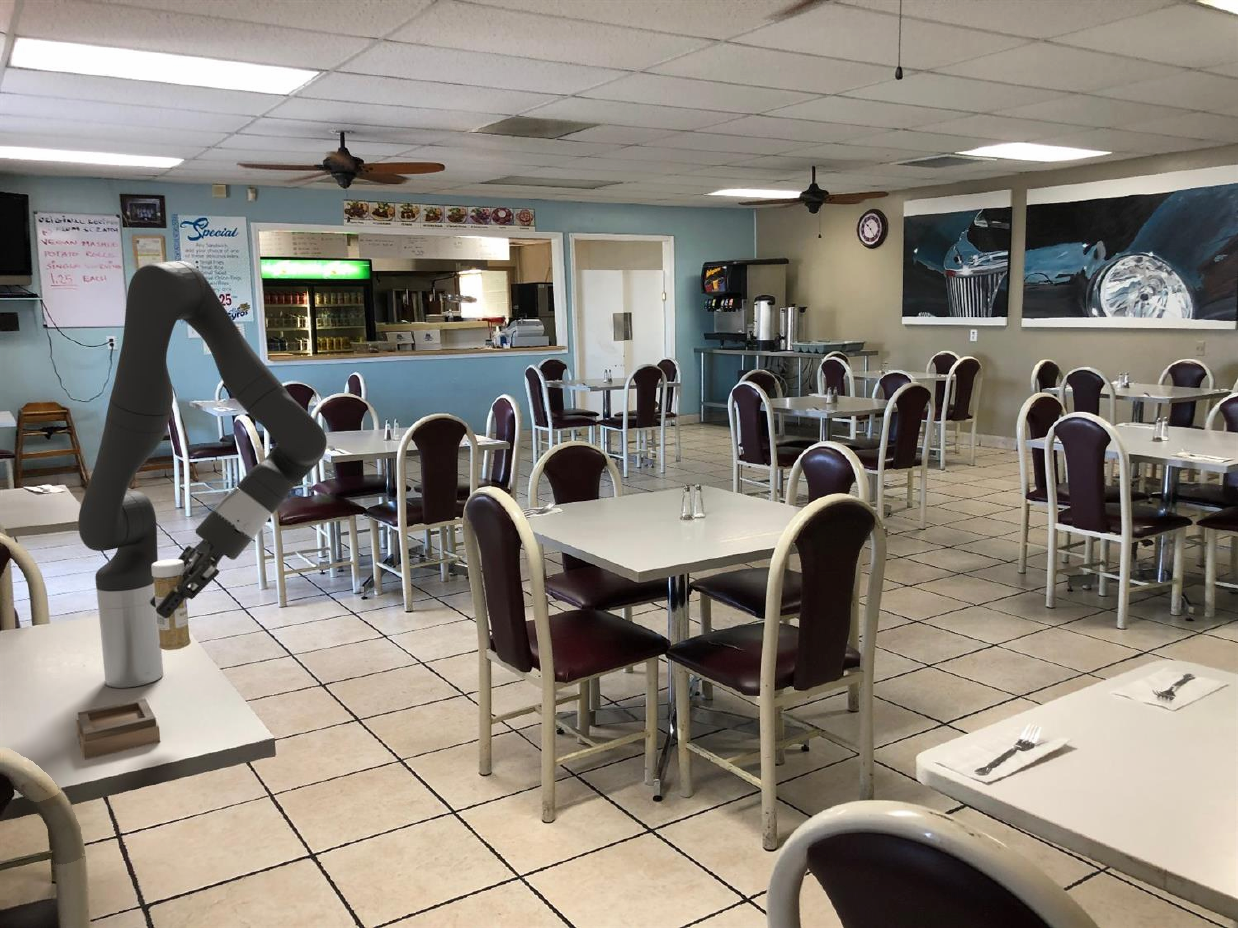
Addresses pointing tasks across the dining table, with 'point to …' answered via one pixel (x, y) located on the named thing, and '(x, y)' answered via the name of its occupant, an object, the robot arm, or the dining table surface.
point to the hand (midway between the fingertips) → (158, 610)
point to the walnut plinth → (116, 728)
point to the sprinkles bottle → (176, 625)
